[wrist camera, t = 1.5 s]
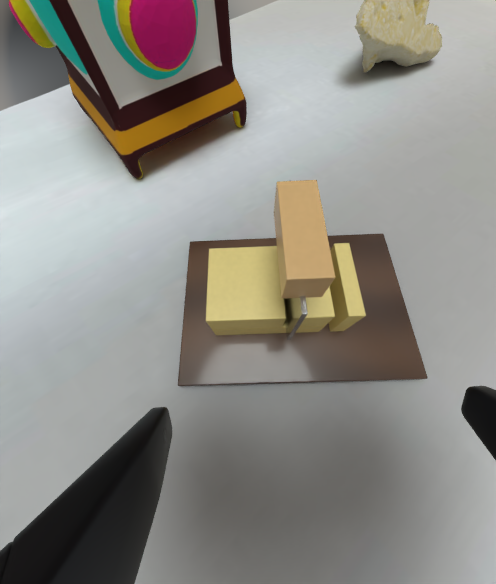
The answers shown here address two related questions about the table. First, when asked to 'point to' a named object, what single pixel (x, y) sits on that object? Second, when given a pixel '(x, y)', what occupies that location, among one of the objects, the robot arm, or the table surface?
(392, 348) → the board
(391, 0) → the cream rough rock
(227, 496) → the table surface
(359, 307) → the butter slice
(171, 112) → the decorative lantern
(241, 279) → the butter block
